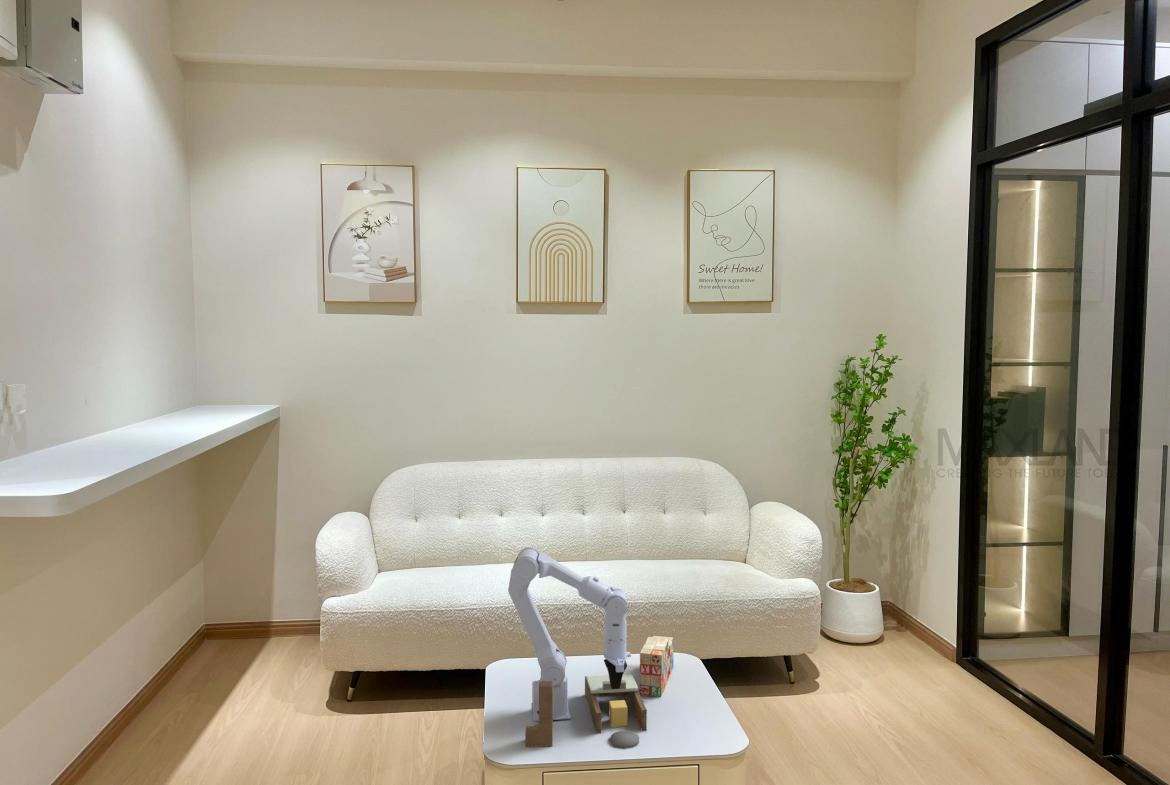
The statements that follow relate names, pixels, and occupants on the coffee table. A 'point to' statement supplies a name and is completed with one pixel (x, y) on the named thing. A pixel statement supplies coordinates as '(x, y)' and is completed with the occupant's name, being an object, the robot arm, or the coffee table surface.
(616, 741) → the coaster
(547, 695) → the wooden block
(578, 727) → the coffee table surface
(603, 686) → the lid
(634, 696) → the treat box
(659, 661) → the stack of blocks
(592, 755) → the coffee table surface
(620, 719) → the ochre block
